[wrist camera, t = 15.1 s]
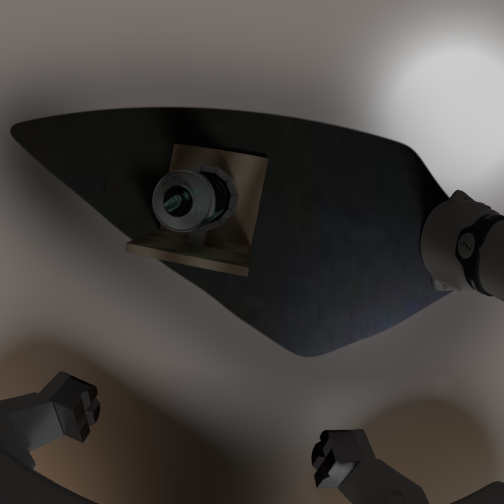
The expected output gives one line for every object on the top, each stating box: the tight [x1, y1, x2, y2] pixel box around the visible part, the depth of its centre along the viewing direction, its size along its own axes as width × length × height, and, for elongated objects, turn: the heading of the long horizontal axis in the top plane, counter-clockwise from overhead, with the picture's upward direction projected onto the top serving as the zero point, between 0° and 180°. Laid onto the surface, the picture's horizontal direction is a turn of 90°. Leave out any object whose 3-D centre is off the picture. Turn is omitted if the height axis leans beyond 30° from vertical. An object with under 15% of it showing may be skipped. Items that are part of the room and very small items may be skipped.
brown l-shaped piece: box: [125, 144, 268, 277], centre depth 35 cm, size 14×14×13 cm
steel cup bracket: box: [188, 165, 240, 246], centre depth 37 cm, size 8×10×6 cm
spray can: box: [152, 169, 231, 232], centre depth 30 cm, size 6×6×20 cm
